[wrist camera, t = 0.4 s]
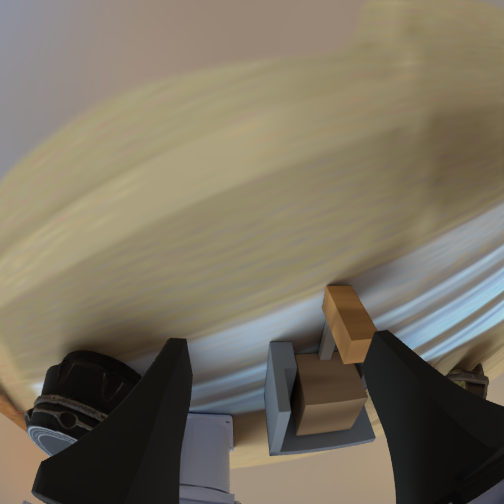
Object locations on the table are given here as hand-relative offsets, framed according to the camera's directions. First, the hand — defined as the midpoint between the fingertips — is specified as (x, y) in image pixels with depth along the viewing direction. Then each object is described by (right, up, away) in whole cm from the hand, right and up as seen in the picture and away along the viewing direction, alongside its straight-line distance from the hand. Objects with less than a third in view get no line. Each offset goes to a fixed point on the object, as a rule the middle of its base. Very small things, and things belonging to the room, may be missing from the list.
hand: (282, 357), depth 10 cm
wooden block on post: (+5, -4, +13) cm, 14 cm away
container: (-17, -10, +15) cm, 25 cm away
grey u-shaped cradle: (+5, -7, +15) cm, 17 cm away
